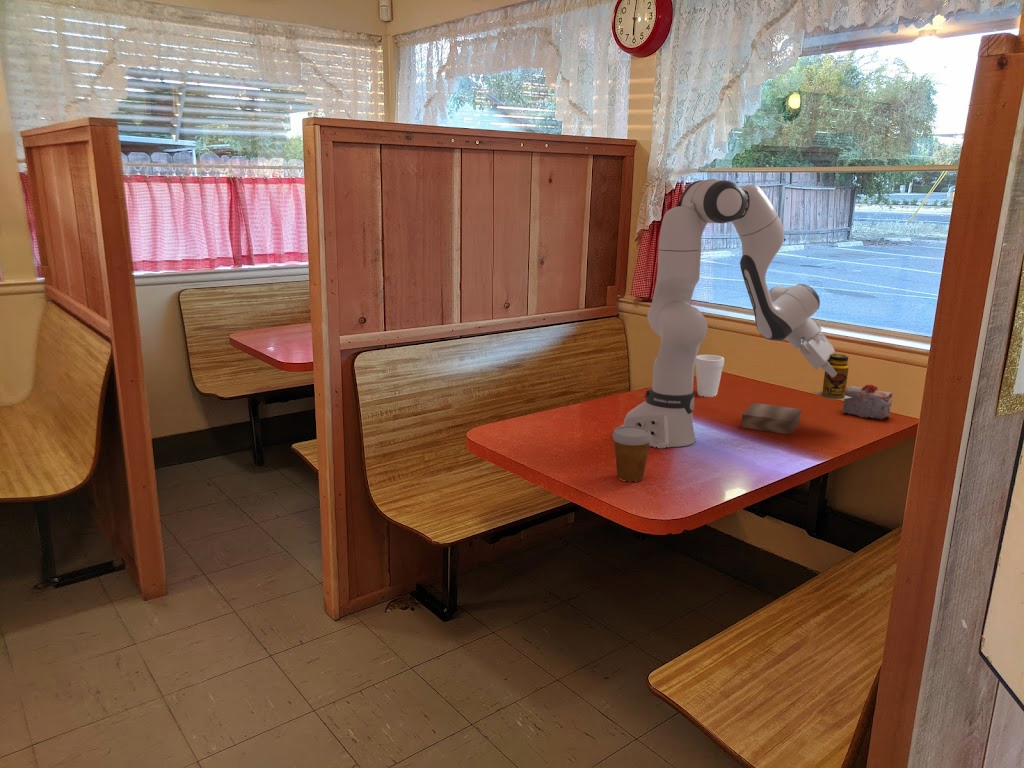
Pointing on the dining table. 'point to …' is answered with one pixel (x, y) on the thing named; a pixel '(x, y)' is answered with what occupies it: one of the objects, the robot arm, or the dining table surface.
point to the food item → (867, 402)
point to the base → (771, 418)
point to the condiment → (836, 378)
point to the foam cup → (708, 374)
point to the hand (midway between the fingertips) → (836, 372)
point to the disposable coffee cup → (631, 451)
